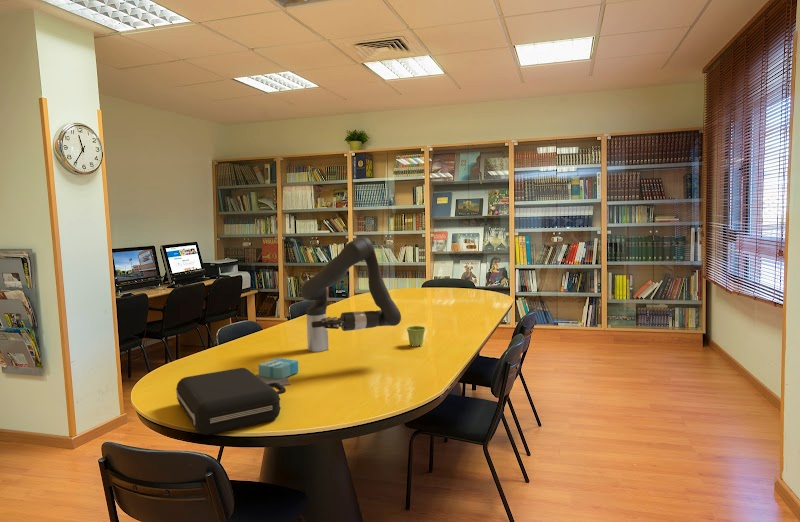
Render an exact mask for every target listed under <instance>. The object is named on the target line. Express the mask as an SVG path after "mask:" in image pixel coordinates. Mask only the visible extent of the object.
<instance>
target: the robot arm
mask: <svg viewBox="0 0 800 522" xmlns="http://www.w3.org/2000/svg"><path fill="white" fill-rule="evenodd" d="M375 251H376V250H375V247H374V245H373V243H372V241H371V240H370V239H369V238H368V237H366V236H361V237H357V238H355V239H354V240H351V241H349V242H348V243H347V244H346V245H345V246H344V247H343V248H342V250H341V251H340V252H339V253H338V254H337V256H335V257H333V258H332V259H331V260H330V261H329V262H328V263H327V264H325V265H324V266H323V268H321V269H320V270H319V271H318V272H317V273H316V274H315V275H313V276H312V277H310V279H308V280H306V281H305V282H304V283H303V285H302V286H301V290H300V291H301V296H302V298H303V299H304V300H305V301H311V302H312V301H314V303H313V304H311V305H310V306H309V307H307V308H306V310H305V311H306V312H305V313H306V334H307V335H306V336H307V351H308V352H313V353H317V352H319V353H320V352H325V351H328V350H329V330H328V329H331V330H333V329H334V330H335V329H336V330H338V329H339V328H341V330H342V331H343V332H349V331H357V330H358V331H359V330H360V331H361V330H364V329H370V328H371V329H372V328H376V327H385V326H386V327H387V326H388V327H396V326H398V325H399V324H400V323H401V321H402V315H401V312H400V310H399V308H398V306H397V304H396V303H395V301H394V300H393V298H392V297H391V295H390V293H389V290H388V288H387V286H386V284H385V281H384V279H383V276H382V272H381V269H380V265H379V262H378V259H377V255H376V252H375ZM362 261H364V262H365V264H366V267H367V273H368V280H367V281H368V290H369V293H370V295H371V298H372V300H373V301H374V305H376V307H378V308H379V310H366V311H365V310H364V311H358V310H357V311H347V312H341V313H340V317H337V316H333V317H331V316H328V317H327V308H328V287H329V288H330V286H333V285H336V284H337V283H339V282H340V281H341V280H342V279H343V278H345V276H346V275H347V273H348V269H350V268H351V267H352V266H354V265H356V264H359V263H360V262H362Z"/></svg>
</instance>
